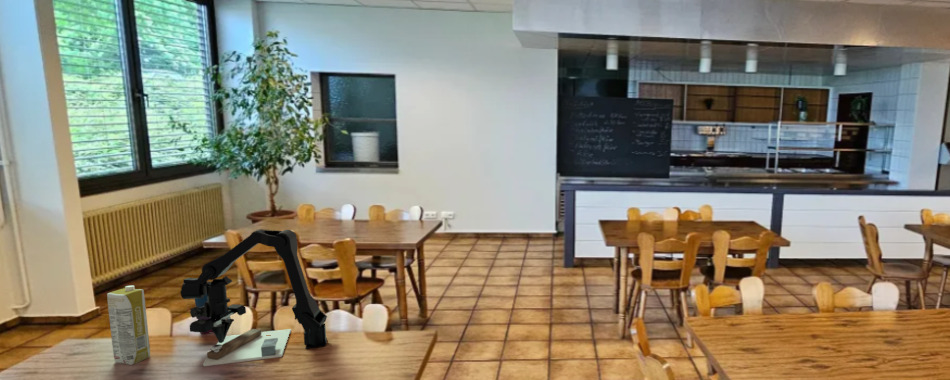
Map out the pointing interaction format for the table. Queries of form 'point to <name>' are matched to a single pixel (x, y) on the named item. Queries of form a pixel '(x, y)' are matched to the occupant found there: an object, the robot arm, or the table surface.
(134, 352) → the juice carton
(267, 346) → the keeper
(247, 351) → the base plate
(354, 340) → the table surface
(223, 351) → the link
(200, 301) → the cup
